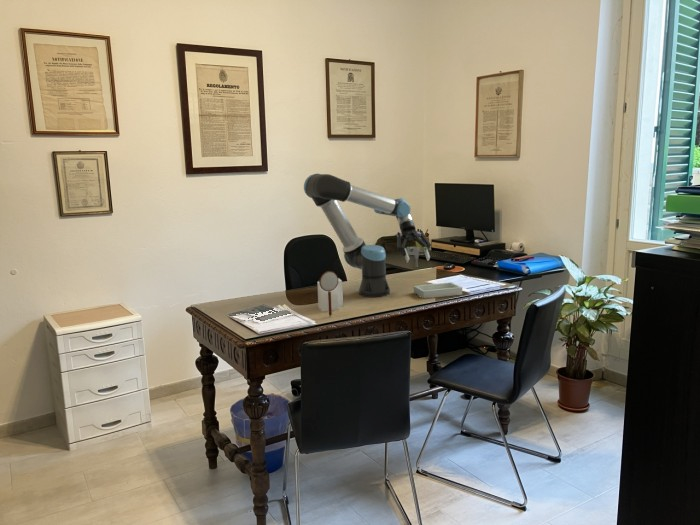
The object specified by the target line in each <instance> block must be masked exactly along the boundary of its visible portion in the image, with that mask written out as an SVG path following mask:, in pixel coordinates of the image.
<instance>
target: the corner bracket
mask: <svg viewBox="0 0 700 525" xmlns="http://www.w3.org/2000/svg"><path fill="white" fill-rule="evenodd" d="M316 284H317V302H318V304H317V305H318V308H319V310H320V311H321V312H323V313H324V312H325V313H326V312H329V303H328V291H325V290H323V289H322V288H321V287H320V284H319V281H317V283H316ZM330 292H331V308H332V312H333V311H339V308H343V307H344V300H343V298H344V297H343V295H344V294H343V293H344V292H343V280H342V279H341V278H339V277H338V285H337V286H336V288H335V289H334V290H332V291H330Z"/></svg>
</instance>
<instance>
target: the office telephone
mask: <svg viewBox="0 0 700 525" xmlns="http://www.w3.org/2000/svg"><path fill="white" fill-rule="evenodd" d="M274 308H275V307H273V306H270V305H266V304H265V303H264V304H263V303H262V304H259V305H256V306H251V307H247V308H244V309H242V310H239V311H235V312H230V313H228V314H227V316H228V315H229V316H228V317H230V316H237V315H236V314H239V315H241V314H240V313H243V314H244V313H249V314H255V313H256V314H255V315H258V314H257V313H259V312H261V313H262V314H263V312H266V311H269V310H272V311H274V312H276V313H274V312H272V311H269V312H268V313H271V312H272V314H268V315H264V316H261V317H257V316H255V317H257V318H255V319H256V320H260V321H265V320H268V319H272V318H276V317H279V316H283V315H287V314H291V313H292V312H291V311H290V310H288V309H284V310H283V309H281V310H282V311H279V312H278V311H275V310H273V309H274ZM253 317H254V316H251V318H253ZM247 318H248V319H249V318H250V317H247Z"/></svg>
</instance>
